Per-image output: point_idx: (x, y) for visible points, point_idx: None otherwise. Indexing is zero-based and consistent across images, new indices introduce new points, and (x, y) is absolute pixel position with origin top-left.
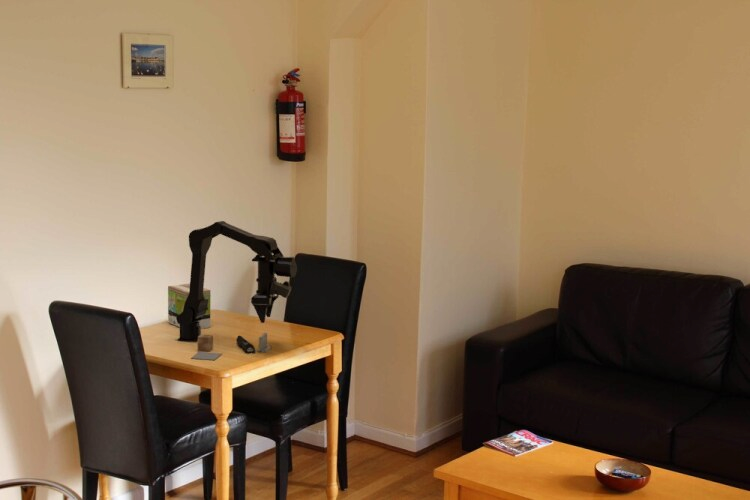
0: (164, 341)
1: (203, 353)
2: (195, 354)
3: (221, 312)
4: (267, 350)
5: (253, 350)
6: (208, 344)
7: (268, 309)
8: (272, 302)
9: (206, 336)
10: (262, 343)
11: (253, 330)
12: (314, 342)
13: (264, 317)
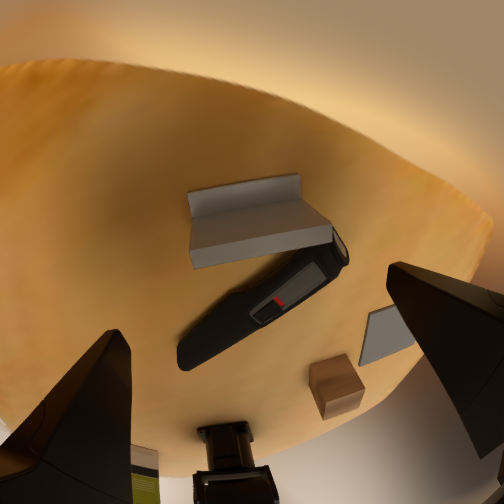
0: (269, 444)
1: (374, 350)
2: (385, 356)
3: (11, 426)
4: (277, 177)
5: (332, 230)
6: (355, 372)
7: (105, 407)
8: (46, 467)
9: (350, 400)
10: (304, 212)
11: (27, 359)
12: (16, 67)
13: (448, 280)
